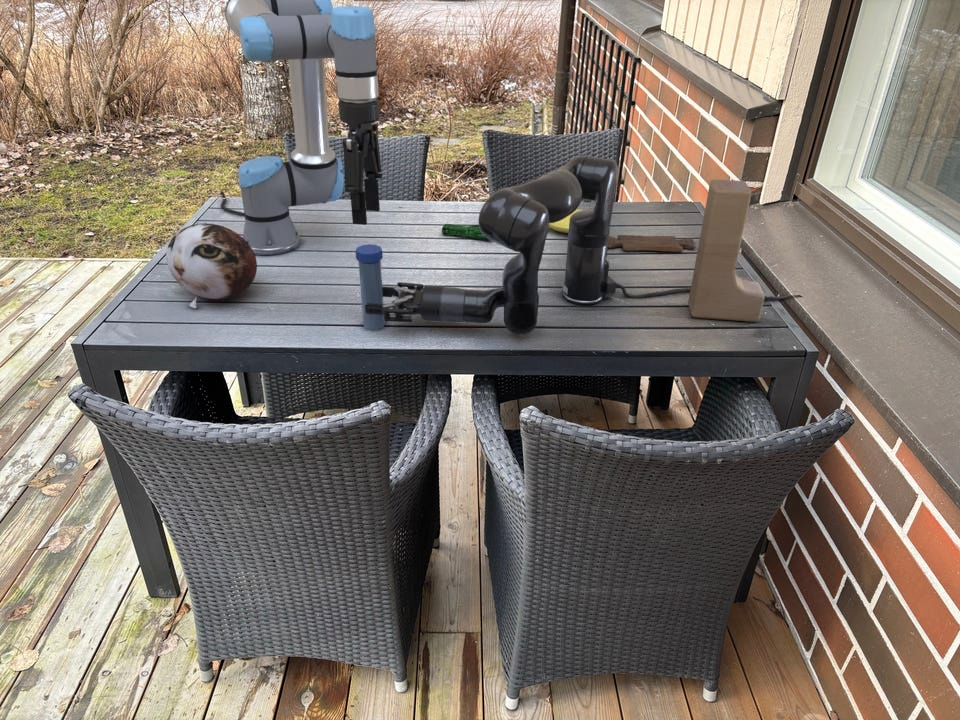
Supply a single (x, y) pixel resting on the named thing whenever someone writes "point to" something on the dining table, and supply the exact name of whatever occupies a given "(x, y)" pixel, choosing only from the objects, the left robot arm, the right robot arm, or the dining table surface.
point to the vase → (562, 224)
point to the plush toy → (211, 261)
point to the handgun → (464, 231)
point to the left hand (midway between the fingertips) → (366, 216)
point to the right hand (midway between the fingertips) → (370, 299)
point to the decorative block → (723, 258)
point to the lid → (369, 253)
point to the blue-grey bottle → (371, 293)
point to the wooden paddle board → (650, 243)
